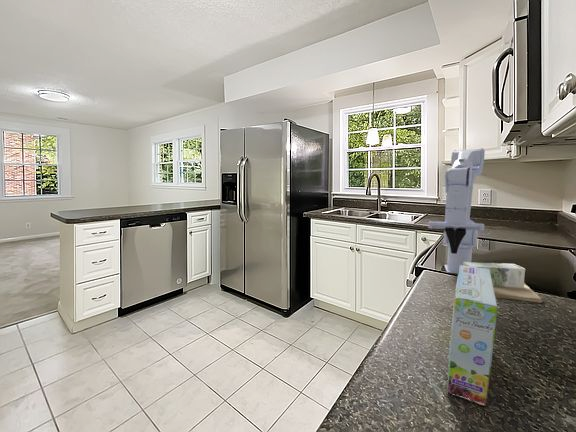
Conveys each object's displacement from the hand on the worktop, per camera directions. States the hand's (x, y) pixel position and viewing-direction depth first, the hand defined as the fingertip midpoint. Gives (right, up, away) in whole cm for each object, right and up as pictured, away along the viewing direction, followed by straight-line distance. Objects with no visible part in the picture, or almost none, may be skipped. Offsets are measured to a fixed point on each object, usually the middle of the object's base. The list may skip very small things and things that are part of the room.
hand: (453, 252), depth 89 cm
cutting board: (+12, -10, -4) cm, 16 cm away
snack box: (-19, -15, -38) cm, 45 cm away
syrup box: (+4, -6, 0) cm, 7 cm away
